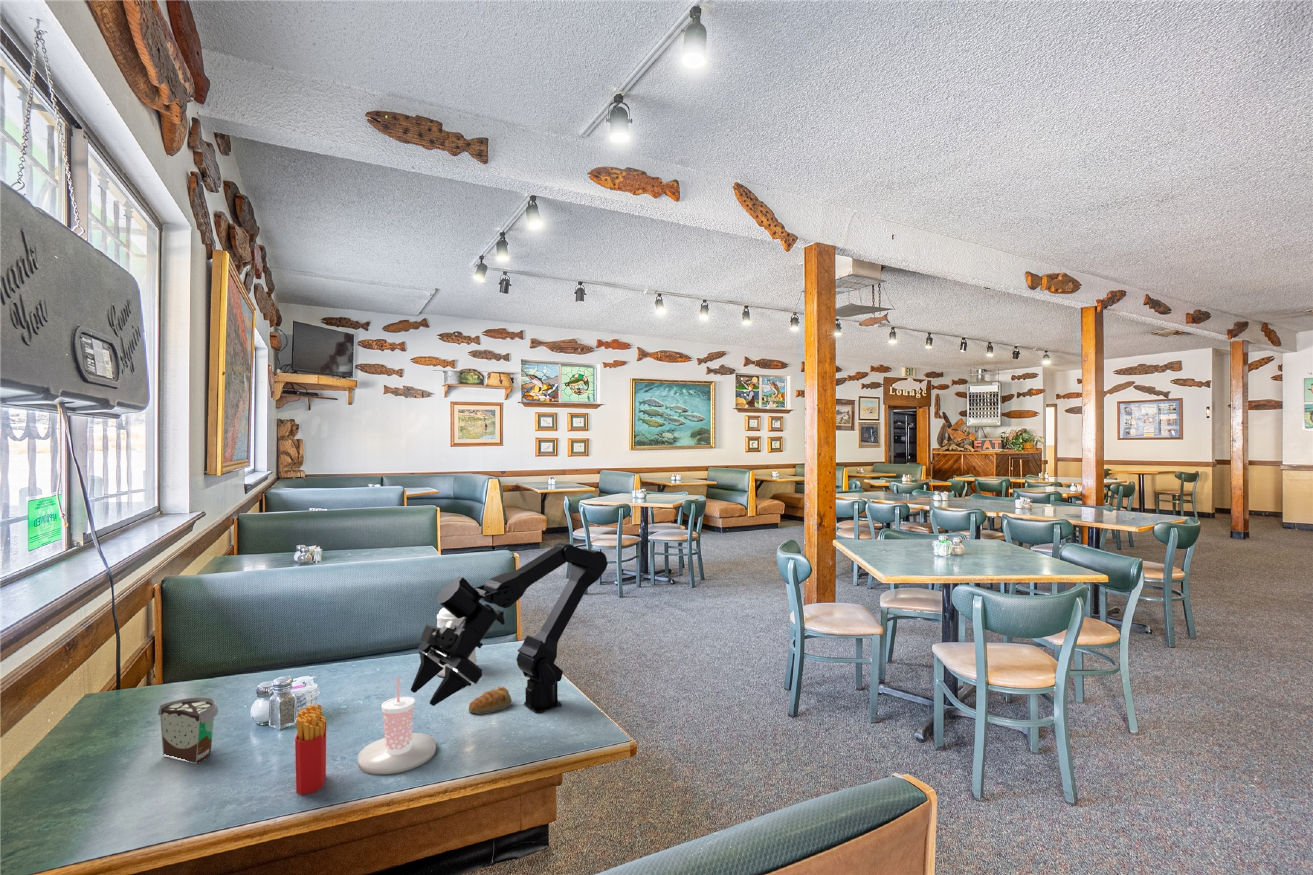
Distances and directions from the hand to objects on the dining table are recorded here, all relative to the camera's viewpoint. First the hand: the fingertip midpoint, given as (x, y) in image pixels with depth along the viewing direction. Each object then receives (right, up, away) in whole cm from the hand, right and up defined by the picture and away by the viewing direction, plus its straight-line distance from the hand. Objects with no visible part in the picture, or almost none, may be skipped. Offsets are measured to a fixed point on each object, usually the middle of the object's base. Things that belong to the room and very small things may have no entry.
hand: (421, 698), depth 124 cm
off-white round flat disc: (-3, -10, -3) cm, 11 cm away
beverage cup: (-3, -9, -3) cm, 10 cm away
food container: (-44, -11, -1) cm, 46 cm away
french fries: (-15, -10, -13) cm, 22 cm away
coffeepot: (-7, -11, +43) cm, 45 cm away
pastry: (+9, -10, +19) cm, 23 cm away
